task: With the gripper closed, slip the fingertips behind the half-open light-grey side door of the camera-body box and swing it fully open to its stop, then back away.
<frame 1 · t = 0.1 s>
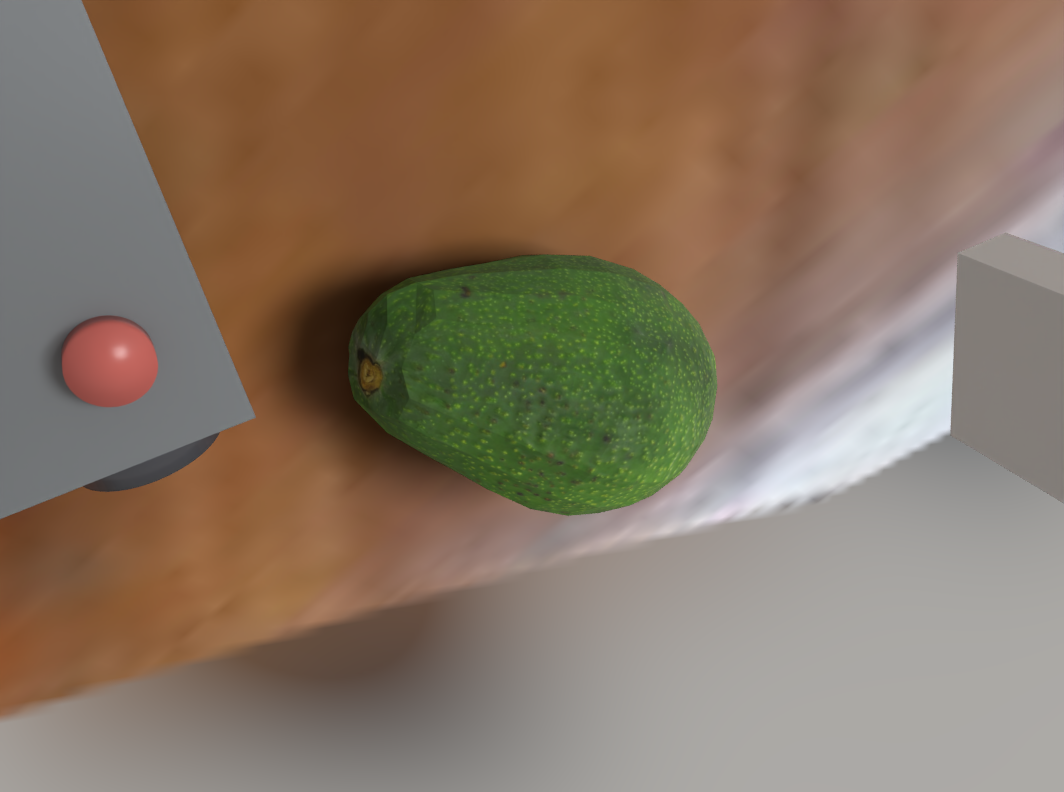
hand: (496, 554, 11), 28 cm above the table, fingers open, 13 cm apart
fruit: (492, 330, 43), on the table
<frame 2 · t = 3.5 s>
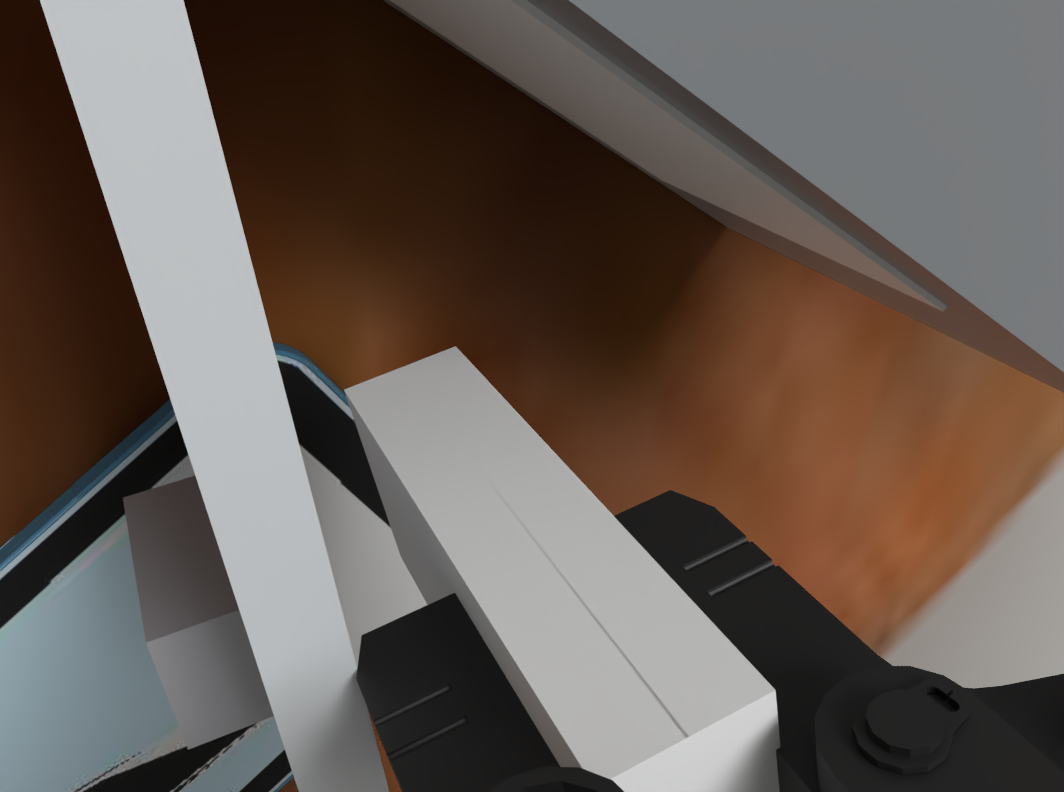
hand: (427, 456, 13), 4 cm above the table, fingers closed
door: (153, 343, 11), point 4 cm above the table, hinge at 50.0°, touching gripper
smartphone: (82, 715, 18), on the table
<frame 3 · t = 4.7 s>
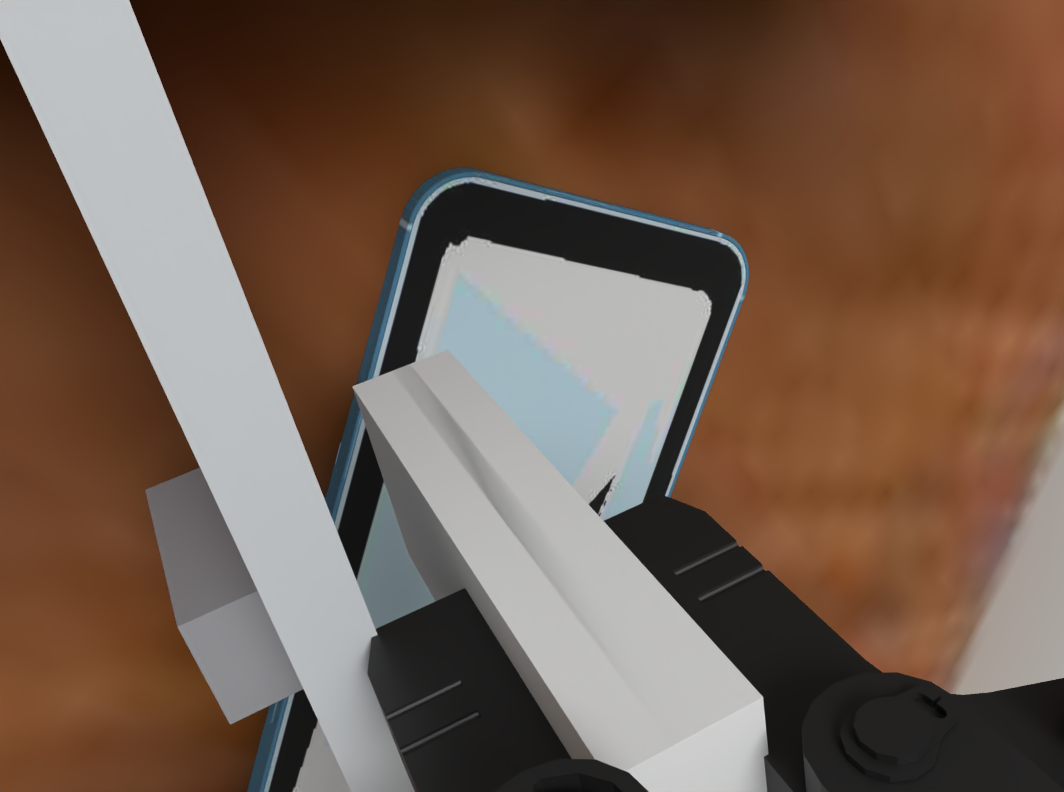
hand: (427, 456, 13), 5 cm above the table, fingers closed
door: (154, 338, 11), point 4 cm above the table, hinge at 79.8°, touching gripper
smartphone: (474, 545, 21), on the table
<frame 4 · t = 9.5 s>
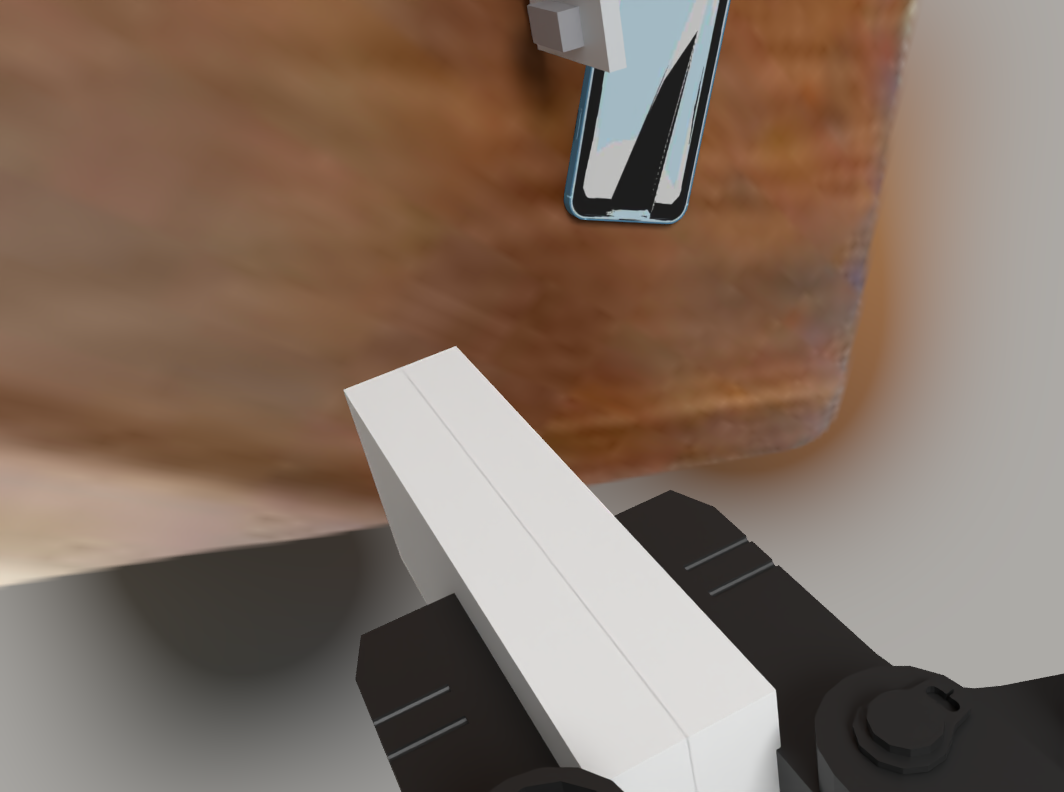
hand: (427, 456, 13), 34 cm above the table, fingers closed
smartphone: (643, 71, 51), on the table
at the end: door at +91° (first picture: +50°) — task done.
